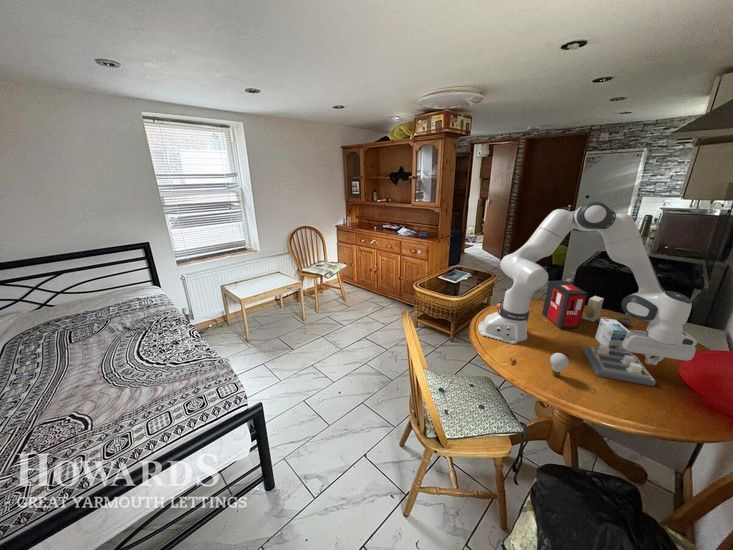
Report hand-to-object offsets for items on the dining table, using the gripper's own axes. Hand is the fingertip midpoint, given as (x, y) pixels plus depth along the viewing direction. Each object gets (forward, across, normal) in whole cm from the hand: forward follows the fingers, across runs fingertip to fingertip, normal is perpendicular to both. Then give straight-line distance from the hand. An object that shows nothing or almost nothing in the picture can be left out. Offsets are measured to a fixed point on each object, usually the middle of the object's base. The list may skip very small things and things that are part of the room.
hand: (650, 363), depth 113 cm
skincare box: (+4, -7, +42) cm, 43 cm away
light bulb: (+4, -34, -14) cm, 37 cm away
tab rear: (+2, -14, +5) cm, 15 cm away
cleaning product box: (+5, -23, +35) cm, 42 cm away
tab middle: (+2, -7, 0) cm, 7 cm away
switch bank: (+4, -10, 0) cm, 11 cm away
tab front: (+2, -7, -5) cm, 9 cm away
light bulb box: (+5, -7, +18) cm, 19 cm away
